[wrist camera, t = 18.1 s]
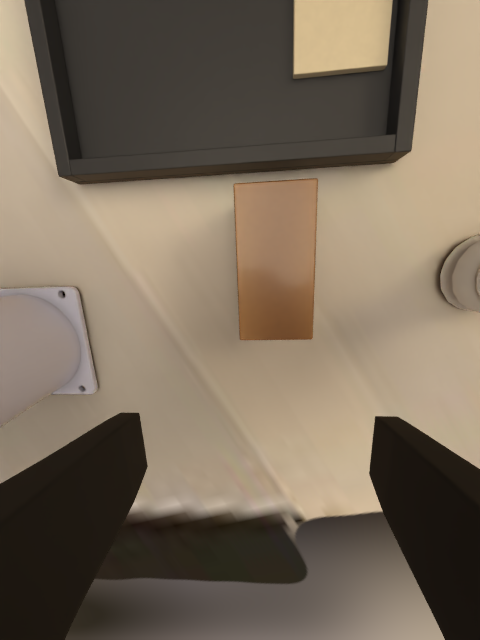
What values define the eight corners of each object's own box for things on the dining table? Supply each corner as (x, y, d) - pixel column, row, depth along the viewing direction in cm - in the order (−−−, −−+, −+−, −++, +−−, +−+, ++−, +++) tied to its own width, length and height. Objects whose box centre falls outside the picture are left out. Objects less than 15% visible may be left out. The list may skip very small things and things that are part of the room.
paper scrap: (292, 79, 13) (293, 74, 13) (293, -35, 12) (294, -45, 12) (383, 70, 13) (387, 64, 12) (393, -49, 12) (398, -59, 11)
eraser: (245, 318, 17) (240, 340, 13) (241, 202, 15) (233, 183, 11) (299, 317, 17) (312, 339, 13) (302, 199, 15) (318, 177, 11)
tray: (79, 184, 16) (58, 176, 14) (29, -95, 13) (-5, -146, 11) (394, 162, 14) (411, 151, 13) (426, -164, 11) (455, -237, 9)
